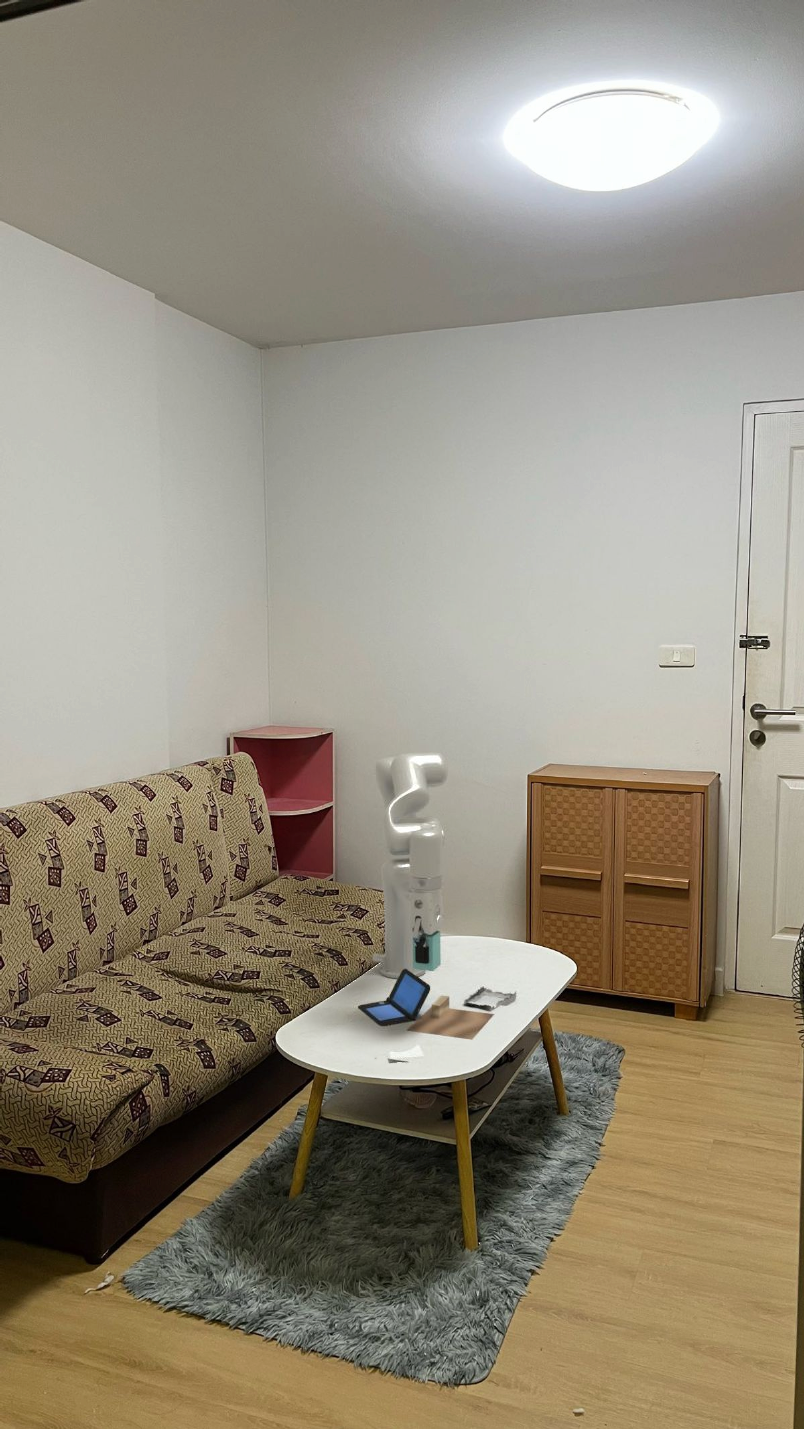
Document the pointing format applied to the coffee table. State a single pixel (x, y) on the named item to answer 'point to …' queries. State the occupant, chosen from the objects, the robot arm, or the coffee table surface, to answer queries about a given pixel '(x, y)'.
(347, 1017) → the coffee table surface
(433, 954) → the teal block
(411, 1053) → the external hard drive
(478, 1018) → the walnut board
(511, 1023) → the coffee table surface
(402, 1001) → the handheld game console
